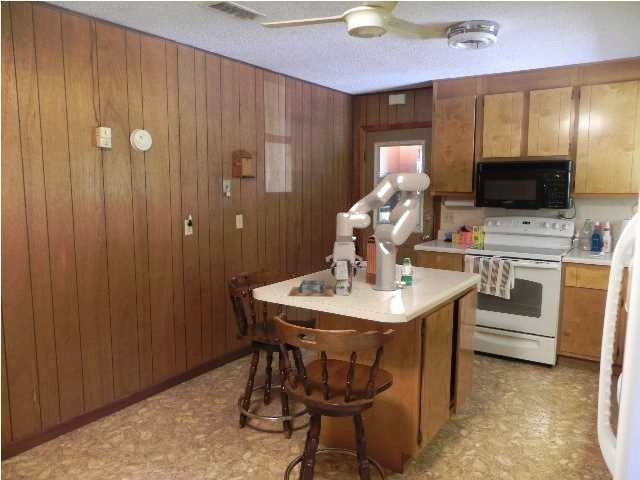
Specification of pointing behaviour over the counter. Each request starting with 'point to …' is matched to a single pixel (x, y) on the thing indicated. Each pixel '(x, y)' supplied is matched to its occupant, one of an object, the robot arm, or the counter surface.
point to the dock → (312, 289)
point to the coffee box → (343, 277)
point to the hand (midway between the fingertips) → (343, 275)
